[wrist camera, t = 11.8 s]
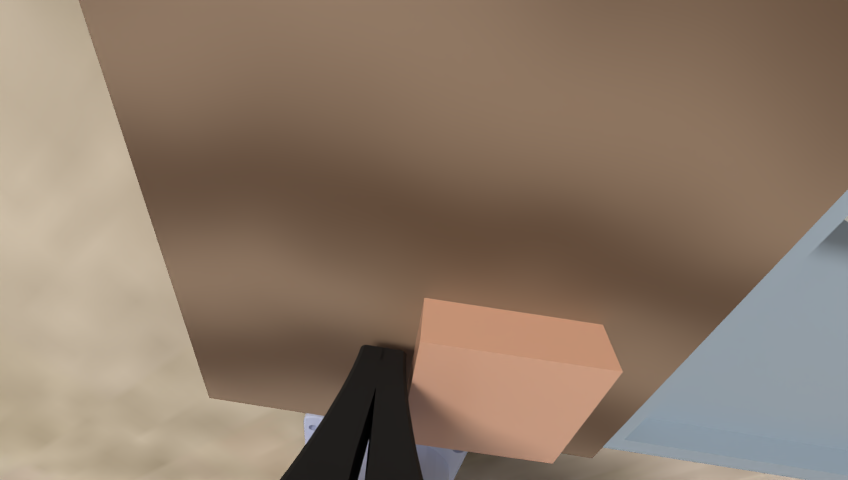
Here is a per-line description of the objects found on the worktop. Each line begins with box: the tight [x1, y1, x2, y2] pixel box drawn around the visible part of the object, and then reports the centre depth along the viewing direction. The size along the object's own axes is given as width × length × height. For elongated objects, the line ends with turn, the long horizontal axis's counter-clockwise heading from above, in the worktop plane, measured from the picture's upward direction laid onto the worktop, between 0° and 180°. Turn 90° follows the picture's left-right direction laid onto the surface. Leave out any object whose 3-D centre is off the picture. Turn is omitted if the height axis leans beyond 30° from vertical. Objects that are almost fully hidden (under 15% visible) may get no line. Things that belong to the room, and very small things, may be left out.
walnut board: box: [79, 0, 848, 458], centre depth 10 cm, size 18×15×2 cm
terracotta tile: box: [407, 298, 623, 464], centre depth 11 cm, size 5×5×2 cm
